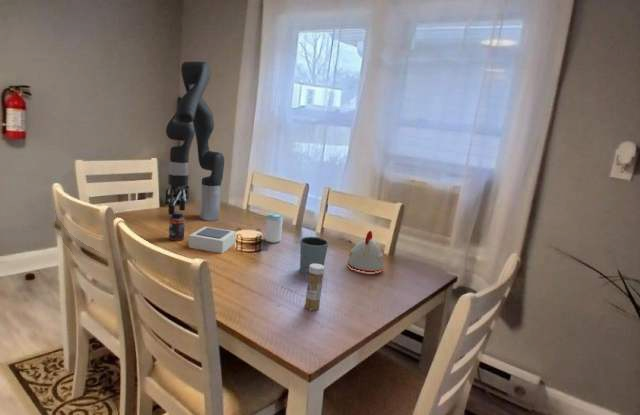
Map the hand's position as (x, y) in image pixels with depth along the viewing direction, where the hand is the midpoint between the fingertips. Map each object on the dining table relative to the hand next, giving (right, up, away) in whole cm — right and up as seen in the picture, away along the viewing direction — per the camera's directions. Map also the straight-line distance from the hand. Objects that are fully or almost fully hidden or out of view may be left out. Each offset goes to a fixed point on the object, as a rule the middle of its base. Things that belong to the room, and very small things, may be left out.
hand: (176, 212), depth 170 cm
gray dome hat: (+76, -22, -5) cm, 79 cm away
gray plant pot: (+55, -22, -15) cm, 61 cm away
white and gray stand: (+15, -13, 0) cm, 20 cm away
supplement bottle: (-1, -11, +3) cm, 12 cm away
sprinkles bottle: (+56, -28, -43) cm, 76 cm away
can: (+37, -13, +15) cm, 42 cm away
